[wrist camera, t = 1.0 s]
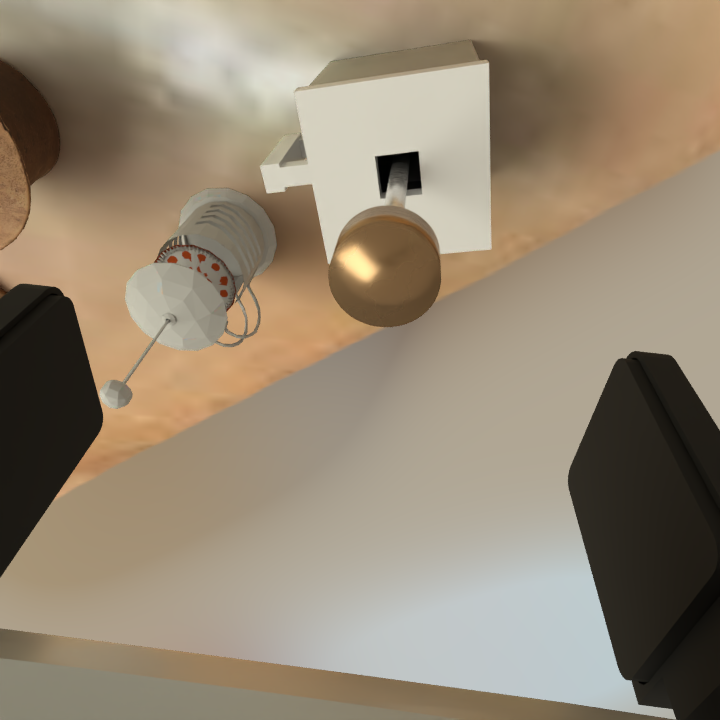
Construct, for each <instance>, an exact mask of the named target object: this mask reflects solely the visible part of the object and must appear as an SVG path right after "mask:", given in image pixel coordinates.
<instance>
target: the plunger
mask: <svg viewBox="0 0 720 720" xmlns="http://www.w3.org/2000/svg"><path fill="white" fill-rule="evenodd" d="M409 163H410V156H409V154H408V152H407V153H399V154H394V155H393V160H392V165H391V171H390V176H389V182H388V187H387V192H386V198H385V203H384V206H377V207H372V208H369V209H366V210H364V211H362V212H360V213H358V214H357V215H355V216H354V217H353V218H352V219H350V220H349V221H348V223H347V224H346V225H345V226H344V228H343V229H342V231H341V233H340V235H339V238H338V241H337V244H336V247H335V250H334V253H333V256H332V259H331V262H330V266H329V285H330V289H331V292H332V294H333V296H334V298H335V300H336V301H337V303H338V304H339V305H340V307H341V308H342V309H343V310H344V311H345V312H346V313H348V314H349V315H350V316H351V317H353V318H355V319H356V320H358V321H361V322H363V323H366V324H369V325H373V326H378V327H393V326H400V325H404V324H407V323H409V322H412V321H414V320H416V319H417V318H419V317H420V316H422V315H423V314H424V313H425V312H426V311H427V310H428V309H429V308H430V307H431V306H432V304H433V303H434V301H435V299H436V297H437V295H438V292H439V289H440V283H441V266H440V247H439V243H438V239H437V237H436V235H435V232H434V231H433V229H432V228H431V226H430V225H429V224H428V223H427V222H426V221H425V220H424V219H423V218H422V217H420V216H419V215H418V214H416V213H414V212H412V211H410V210H408V209H405V203H406V193H407V183H408V173H409Z"/></svg>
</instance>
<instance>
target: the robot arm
mask: <svg viewBox="0 0 720 720" xmlns="http://www.w3.org/2000/svg"><path fill="white" fill-rule="evenodd" d="M102 423H103V412H102V408H101V405H100V401H99V397H98V394H97V390H96V386H95V383H94V379H93V375H92V371H91V368H90V364H89V360H88V357H87V353H86V349H85V346H84V342H83V338H82V335H81V331H80V327H79V324H78V320H77V316H76V313H75V309H74V305H73V303H72V301H71V300H70V298H68V297H65V296H64V295H63V293H62V292H61V290H60V289H58V288H56V287H50V286H41V285H32V284H19V285H17V286H15V287H14V288H13V289H11V290H10V291H9V292H8V293H6V294H5V295H4V296H3V297H1V298H0V577H1V576H2V574H3V573H4V571H5V570H6V568H7V567H8V565H9V564H10V563H11V561H12V560H13V558H14V557H15V555H16V554H17V552H18V551H19V549H20V548H21V546H22V545H23V543H24V542H25V540H26V539H27V537H28V536H29V535H30V533H31V532H32V530H33V529H34V527H35V526H36V524H37V523H38V521H39V520H40V519H41V517H42V516H43V514H44V513H45V511H46V510H47V508H48V507H49V505H50V504H51V503H52V501H53V500H54V498H55V497H56V495H57V494H58V492H59V491H60V489H61V488H62V486H63V485H64V483H65V482H66V481H67V479H68V478H69V476H70V475H71V473H72V472H73V470H74V469H75V467H76V466H77V464H78V463H79V462H80V460H81V459H82V457H83V456H84V454H85V453H86V451H87V450H88V448H89V447H90V445H91V444H92V443H93V441H94V440H95V438H96V437H97V435H98V434H99V432H100V430H101V427H102ZM568 486H569V491H570V495H571V498H572V501H573V506H574V509H575V513H576V516H577V520H578V524H579V527H580V531H581V534H582V538H583V542H584V545H585V549H586V553H587V555H588V560H589V564H590V567H591V571H592V574H593V578H594V582H595V585H596V589H597V592H598V596H599V600H600V603H601V607H602V611H603V614H604V618H605V621H606V625H607V629H608V632H609V636H610V640H611V643H612V647H613V650H614V654H615V657H616V661H617V665H618V668H619V670H620V673H621V675H622V676H623V677H624V678H625V679H626V680H632V684H633V687H634V691H635V694H636V698H637V701H638V704H639V705H646V706H653V707H661V708H669V709H673V711H674V714H675V717H676V720H720V430H719V429H718V427H717V425H716V424H715V422H714V421H713V419H712V418H711V416H710V414H709V413H708V411H707V410H706V408H705V406H704V405H703V403H702V402H701V400H700V399H699V397H698V395H697V394H696V392H695V391H694V389H693V388H692V386H691V384H690V383H689V381H688V379H687V378H686V376H685V375H684V373H683V372H682V370H681V368H680V367H679V365H678V364H677V362H676V360H675V359H674V358H673V357H672V356H670V355H666V354H657V353H647V352H639V351H634V352H631V353H630V354H629V355H628V356H627V358H626V359H623V358H621V359H618V360H617V362H616V363H615V365H614V367H613V369H612V371H611V374H610V376H609V378H608V381H607V383H606V385H605V388H604V390H603V392H602V395H601V397H600V399H599V402H598V404H597V406H596V409H595V411H594V413H593V415H592V418H591V420H590V422H589V425H588V427H587V429H586V432H585V435H584V436H583V439H582V441H581V443H580V446H579V448H578V451H577V453H576V456H575V457H574V460H573V462H572V465H571V467H570V470H569V475H568ZM0 720H673V719H667V718H661V717H654V716H647V715H640V714H635V713H628V712H622V711H615V710H609V709H602V708H596V707H589V706H583V705H576V704H570V703H563V702H556V701H548V700H540V699H534V698H526V697H518V696H511V695H503V694H496V693H489V692H481V691H475V690H467V689H459V688H452V687H445V686H438V685H430V684H423V683H416V682H408V681H401V680H394V679H386V678H379V677H371V676H363V675H357V674H349V673H341V672H334V671H326V670H318V669H311V668H303V667H295V666H288V665H280V664H273V663H265V662H257V661H250V660H242V659H235V658H226V657H219V656H212V655H204V654H195V653H189V652H181V651H173V650H165V649H157V648H150V647H142V646H135V645H127V644H118V643H111V642H103V641H94V640H87V639H79V638H71V637H63V636H55V635H47V634H39V633H31V632H23V631H15V630H7V629H0Z"/></svg>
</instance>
